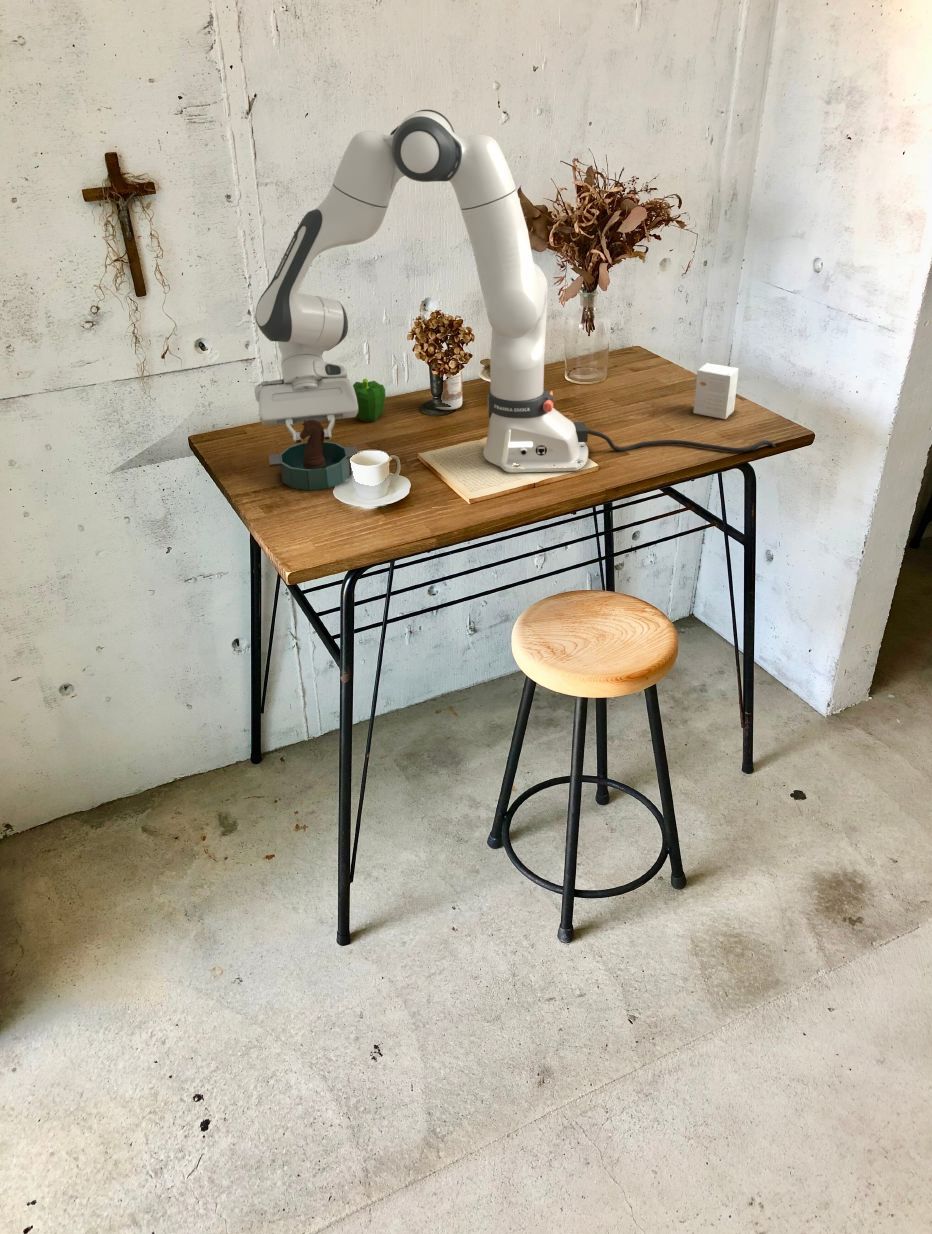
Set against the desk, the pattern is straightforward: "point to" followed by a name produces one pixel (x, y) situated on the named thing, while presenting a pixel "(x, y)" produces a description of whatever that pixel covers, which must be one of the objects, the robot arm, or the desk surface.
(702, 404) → the small box
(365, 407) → the bell pepper
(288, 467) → the cooking pot
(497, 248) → the robot arm
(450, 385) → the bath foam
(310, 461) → the chess piece
